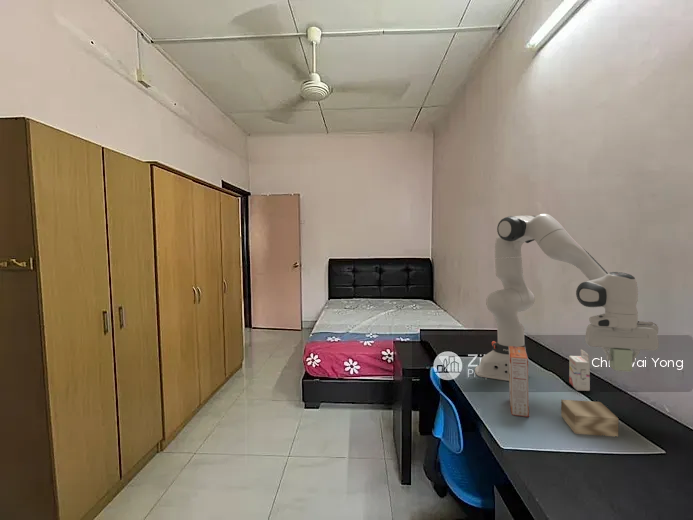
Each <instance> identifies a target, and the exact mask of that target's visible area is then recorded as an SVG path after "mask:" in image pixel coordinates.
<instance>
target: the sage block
mask: <svg viewBox="0 0 693 520" xmlns="http://www.w3.org/2000/svg"><path fill="white" fill-rule="evenodd" d="M633 352H634V351H632V349H621V348H609V351H608V353H609V354H611V355H612V356H613V358H612V359H613V361H609V363H608V365H609V367H610V368H611V369H613V371H617V372H618V371H619V372H628V373H629V372H631V373H632V372H633V362H632V354H633Z"/></svg>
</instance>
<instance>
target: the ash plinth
mask: <svg viewBox="0 0 693 520" xmlns="http://www.w3.org/2000/svg"><path fill="white" fill-rule="evenodd" d="M560 401H561V402H560V403H561V406H560V407H561V409H560V410H561V411H560V413H561V414H560V416H561V417H562V418H563V420H564V421H565V423H566V424H567V425H568V427H570V429H571V430H572V431H573V433H574V434H576V435H577V434H578V435H590V436H602V435H603V436H604V435H605V437H615V436H617V437H619V418H618V416H617V415H616V414H614V413H613V412H612V411H611V410H610V409H609V408H608V407H607V406H606V405H604V404H603V403H602V402H601V401H591V400H589V401H588V400H575V399H574V400H571V399H561V400H560ZM617 437H616V438H617Z"/></svg>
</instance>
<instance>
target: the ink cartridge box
mask: <svg viewBox="0 0 693 520" xmlns="http://www.w3.org/2000/svg"><path fill="white" fill-rule="evenodd" d="M568 359H569V360H568V362H569V364H568V365H569V369H568V370H569V373H568V374H569V375H568V378H569V379H568V380H569V384H570V385H571V386H572V387H573V388H574V390H576V391H582V392H583V391H584V392H585V391H586V392H590V391H591V388H590V387H591V385H590V383H591V382H590V381H591V376H590V373H591V370H590V369H591V366H590V365H591V364H590V355H589V354H588V353H587V352H586V351H585V350H583V349H580V355H569V358H568Z"/></svg>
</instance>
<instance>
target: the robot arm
mask: <svg viewBox="0 0 693 520" xmlns="http://www.w3.org/2000/svg"><path fill="white" fill-rule="evenodd" d="M496 232H497V234H498V236H497V237H496V238H495V244H494V268H495V275H496V277H497V279H498V280H500V282H501V284H502V287H503V289H496V290H495V291H493V292H491V293H489V294H488V295H487V297H486V300H485V302H486V308H487V309H488V311H489V312H490V313H491V314H492V315H493V317H494V319H495V323H496V327H497V328H496V329H497V330H496V331H497V341H495V340H493V341H492V342H491V346H492V350H491V351H489V352H487V353H486V354H485V355H483V356H482V357H481V359H480V362H479V364H478V365H477V366H476V367H475V368H474V373H475V375H476V376H478V377H481V378H487V379H494V380H499V381H508V382H509V346H516V347H525V351H526V352H527V350H526V349H527V347H526V344H525V327H524V325H523V324H522V323H521V322H520V320H519V316H518V313H520V312H521V313H522V312H525V311H527V310H529V309H530V308H532V307H533V306H534V305H535V300H536V299H535V295H534V293H533V291H531V289H529V287H528V285H527V282H526V279H525V277H524V271H523V259H522V246H523V244H524V243H526V244H529V243H531V242H533V241H535V242H536V243H537V245H538V247H539V248H540V250H541V251H542V252H543V253H544V254H545V255H546V256H548V258H549V259H551V260H554V261H560V262H564V263H567V264H570V265H572V266H574V267H576V268H577V269H579V270H580V271H581V272H582V274H583V275H585V277H586V278H587V279H588V280H587V281H583V282H581V283H579V284H578V286H577V288H576V291H575V296H576V299H577V301H578V302H579V303H580V304H581V305H582V306H584V307H587V308H593V309H594V308H604V313H602V314H601V313H600V314H598V315H597V314H596V315H593V316H590V317H589V318H588V322H589V323H590V324H588V326H586V330H585V338H584V340H585V342H584V343H586V344H587V346H589V347H591V348H602V351H603V353H605V359H606V360H607V362H608V361H613V359H612V358H613V356H612V355H611V354H609V348H621V349H631V350H632V351H633V353H632V363H636V358H637V356H638V355H639V354H640V352H641V351H640V350H642V351H643V350H644V351H657V350H658V349H659V337H658V334H659V326H658V324H657V323H654V322H653V321H642V320H640V321H639V320H638V316H639V315H638V309H637V305H638V304H637V303H638V302H639V293H638V292H639V291H638V290H639V289H638V282H637V279H636V278H635V276H633V275H632V274H629V273H625V272H619V271H612V272H611V271H610V272H607V271H606V270H605V268H604V267H603V266H602V265H601V264H600V263H599V262H598V261H597V260H596V258H595V257H593V256H592V255H591V254H590V253H589V252H588V251H587V250H586V249H585V248H584V247H582V246H581V245H580V244H579V243H578V242H577V241H576V240H575V239H574V238H573V237H572V236H571V234H569V232H568V231H567V230H566V229H565V227H564V226H563V225H562V224H561V223H560V222H559V221H558V220H557V219H556V218H555V217H553V216H552V215H551V214H548V213H539V214H537V215H525V214H524V215H523V214H521V215H514V216H513V215H509V216H506V217H504V218H502V219H500V221H499V222H498V224H497V227H496ZM528 377H529V374H528Z"/></svg>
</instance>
